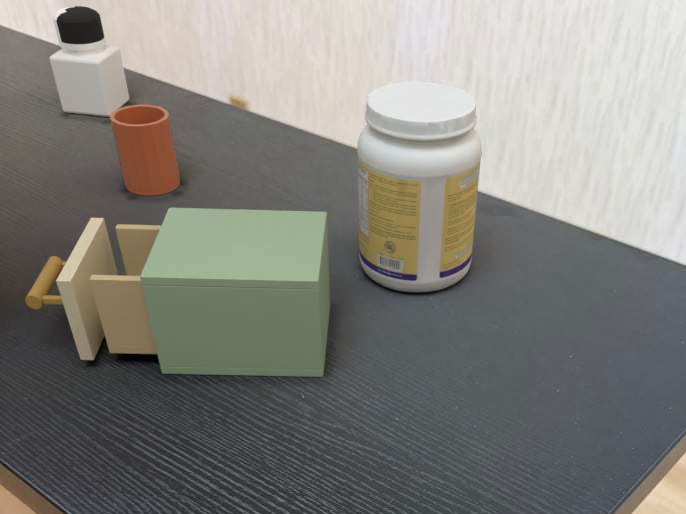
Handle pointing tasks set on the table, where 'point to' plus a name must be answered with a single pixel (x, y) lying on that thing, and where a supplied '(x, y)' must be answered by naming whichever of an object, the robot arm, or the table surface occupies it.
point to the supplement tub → (418, 185)
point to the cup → (146, 149)
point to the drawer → (102, 290)
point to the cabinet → (239, 292)
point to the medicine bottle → (87, 65)
